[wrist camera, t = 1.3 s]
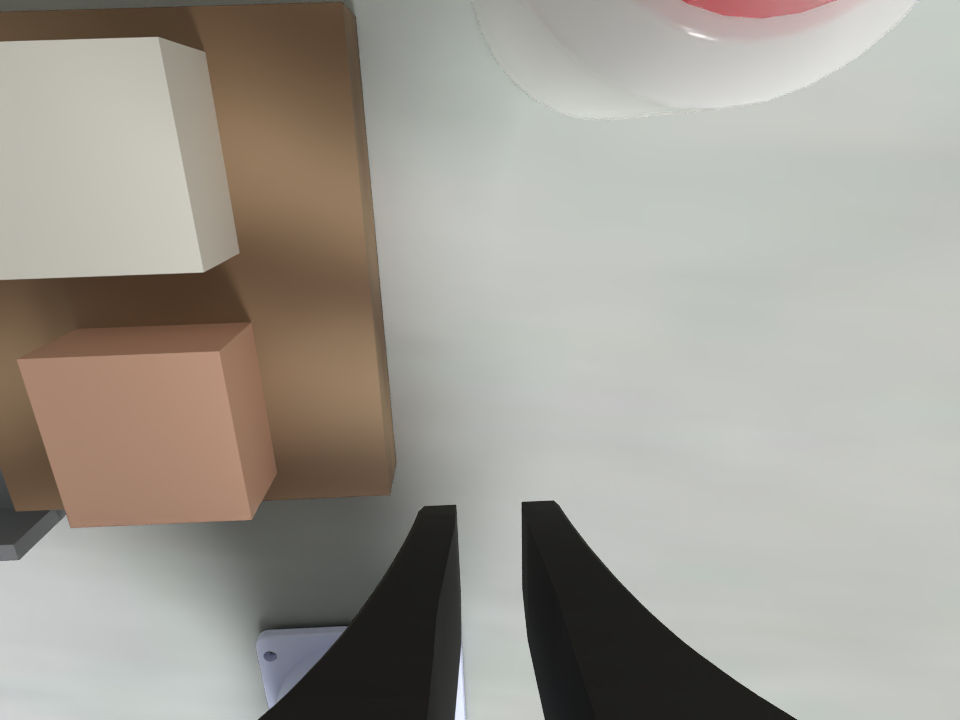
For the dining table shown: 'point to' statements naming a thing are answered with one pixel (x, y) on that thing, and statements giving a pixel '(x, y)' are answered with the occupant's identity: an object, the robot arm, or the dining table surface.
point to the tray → (22, 526)
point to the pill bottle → (676, 50)
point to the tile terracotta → (153, 423)
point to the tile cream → (110, 160)
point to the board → (246, 247)
